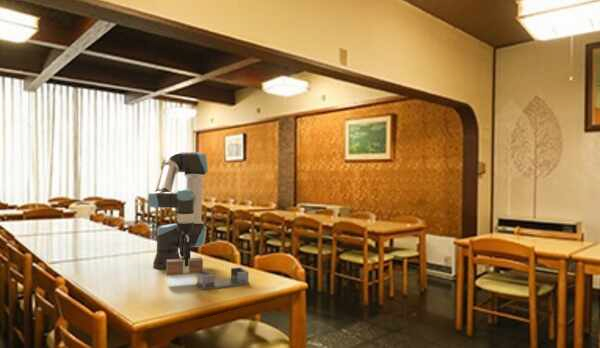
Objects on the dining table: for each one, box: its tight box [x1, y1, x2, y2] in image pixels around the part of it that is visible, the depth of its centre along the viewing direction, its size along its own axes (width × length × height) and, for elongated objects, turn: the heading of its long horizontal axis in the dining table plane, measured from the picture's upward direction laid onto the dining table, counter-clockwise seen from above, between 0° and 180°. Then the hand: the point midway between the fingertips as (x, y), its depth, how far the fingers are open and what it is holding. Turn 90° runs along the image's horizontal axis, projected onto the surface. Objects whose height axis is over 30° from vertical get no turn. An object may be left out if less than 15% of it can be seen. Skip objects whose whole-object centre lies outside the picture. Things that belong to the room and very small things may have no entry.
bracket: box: [196, 266, 250, 291], centre depth 186 cm, size 11×22×6 cm, turn 118°
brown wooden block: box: [165, 257, 204, 276], centre depth 188 cm, size 5×16×6 cm, turn 113°
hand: (184, 271), depth 188 cm, fingers closed on brown wooden block, 5 cm apart
